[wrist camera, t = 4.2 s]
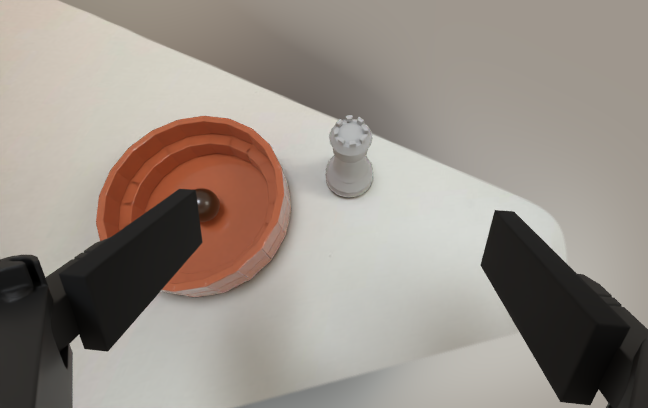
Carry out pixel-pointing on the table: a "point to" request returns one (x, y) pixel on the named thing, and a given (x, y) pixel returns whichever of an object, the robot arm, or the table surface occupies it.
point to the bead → (207, 204)
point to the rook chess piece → (350, 158)
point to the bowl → (210, 173)
